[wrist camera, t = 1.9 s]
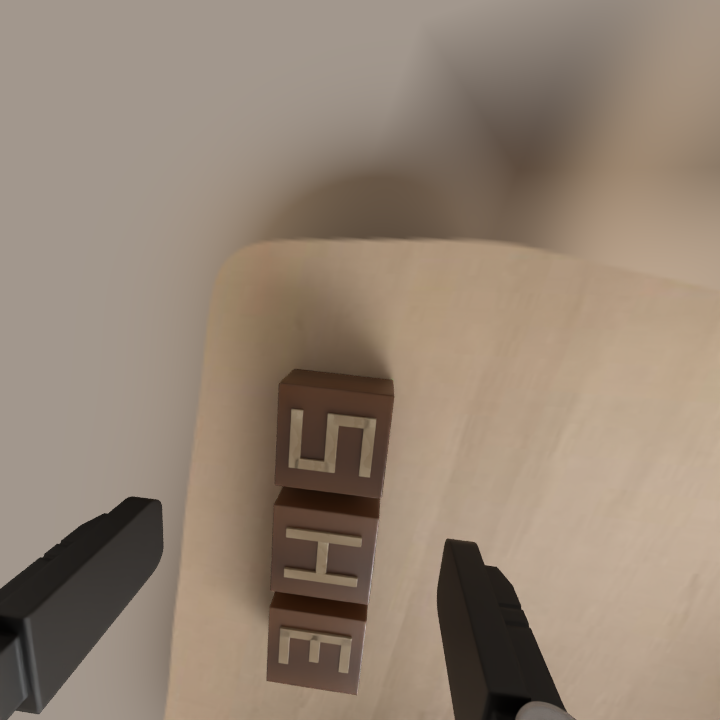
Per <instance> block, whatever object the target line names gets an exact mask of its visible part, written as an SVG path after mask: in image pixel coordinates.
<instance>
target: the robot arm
mask: <svg viewBox="0 0 720 720" xmlns="http://www.w3.org/2000/svg"><path fill="white" fill-rule="evenodd" d="M162 522H163V521H162V505H161V502H160V501H159V500H156V499H148V498H140V497H128V498H127V499H125V500H124V501H123V502H121V503H120V504H119V505H118V506H117V507H115V508H114V509H113V510H112V511H111V512H109V513H108V514H105V513H104V514H102V515H100V516H98V517H96V518H94V519H92V520H90V521H88V522H86V523H84V524H82V525H81V526H79V527H78V528H77V529H76V530H74V531H73V532H72V533H70V534H69V535H68V536H67V537H65V538H64V539H63V540H61V543H60V544H56V545H55V546H54V547H53V548H51V549H50V550H49V551H48V552H46V553H45V554H44V557H43V558H39V559H37V560H36V561H35V562H34V563H33V564H31V565H30V566H29V567H27V568H26V569H25V570H24V571H22V572H21V573H20V574H18V575H17V576H16V577H15V578H13V579H12V580H11V581H10V582H8V583H7V584H6V585H5V586H3V587H2V588H1V589H0V720H7V719H8V718H9V717H10V716H11V715H12V714H13V712H14V711H22V712H28V713H34V714H40V713H41V711H42V710H43V709H44V708H45V706H46V705H47V704H48V703H49V701H50V700H51V699H52V698H53V697H54V695H55V694H56V693H57V691H58V690H59V689H60V688H61V686H62V685H63V684H64V683H65V682H66V680H67V679H68V678H69V677H70V675H71V674H72V673H73V672H74V670H75V669H76V668H77V667H78V665H79V664H80V663H81V662H82V660H83V659H84V658H85V657H86V656H87V654H88V653H89V652H90V651H91V649H92V648H93V647H94V646H95V644H96V643H97V642H98V641H99V639H100V638H101V637H102V636H103V634H104V633H105V632H106V631H107V629H108V628H109V627H110V626H111V624H112V623H113V622H114V621H115V619H116V618H117V617H118V616H119V614H120V613H121V612H122V611H123V610H124V608H125V607H126V606H127V605H128V603H129V602H130V601H131V600H132V598H133V597H134V596H135V595H136V593H137V592H138V591H139V590H140V588H141V587H142V586H143V585H144V583H145V582H146V581H147V580H148V578H149V577H150V576H151V575H152V573H153V572H154V571H155V569H156V568H157V566H158V564H159V562H160V559H161V556H162V552H163V523H162ZM437 610H438V617H439V623H440V630H441V636H442V642H443V648H444V654H445V661H446V667H447V673H448V679H449V685H450V691H451V698H452V704H453V710H454V716H455V720H576V719H575V718H573V717H572V716H571V715H570V714H568V713H567V711H566V709H565V707H564V705H563V703H562V701H561V699H560V696H559V694H558V692H557V689H556V687H555V684H554V682H553V680H552V677H551V675H550V673H549V670H548V668H547V666H546V663H545V661H544V659H543V656H542V654H541V651H540V649H539V647H538V644H537V642H536V640H535V637H534V635H533V633H532V630H531V628H529V623H528V621H527V619H526V616H525V614H524V611H523V610H521V604H520V602H519V600H518V597H517V595H516V593H515V590H514V588H513V586H512V584H511V583H510V582H509V581H508V579H507V578H506V577H505V576H504V575H503V574H502V572H501V571H500V570H499V569H498V568H497V567H494V566H486V565H484V562H483V560H482V557H481V554H480V551H479V548H478V546H477V544H476V543H475V542H469V541H462V540H454V539H447V540H446V542H445V546H444V552H443V557H442V563H441V569H440V575H439V581H438V587H437Z"/></svg>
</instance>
